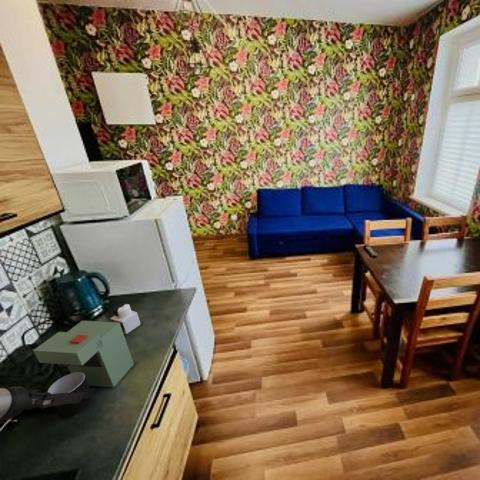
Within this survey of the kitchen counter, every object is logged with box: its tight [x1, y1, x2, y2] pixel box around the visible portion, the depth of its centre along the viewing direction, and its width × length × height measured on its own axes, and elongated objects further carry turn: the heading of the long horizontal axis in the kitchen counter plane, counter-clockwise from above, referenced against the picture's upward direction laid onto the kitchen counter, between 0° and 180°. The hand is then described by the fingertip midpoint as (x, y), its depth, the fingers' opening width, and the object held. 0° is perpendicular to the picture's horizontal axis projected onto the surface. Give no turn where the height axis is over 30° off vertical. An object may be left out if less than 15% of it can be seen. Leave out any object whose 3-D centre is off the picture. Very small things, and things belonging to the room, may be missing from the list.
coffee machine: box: [32, 320, 135, 388], centre depth 91 cm, size 14×16×23 cm
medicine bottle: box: [110, 302, 141, 335], centre depth 118 cm, size 7×7×12 cm
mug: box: [40, 372, 92, 416], centre depth 84 cm, size 12×9×10 cm
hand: (77, 391), depth 87 cm, fingers closed on mug, 10 cm apart
